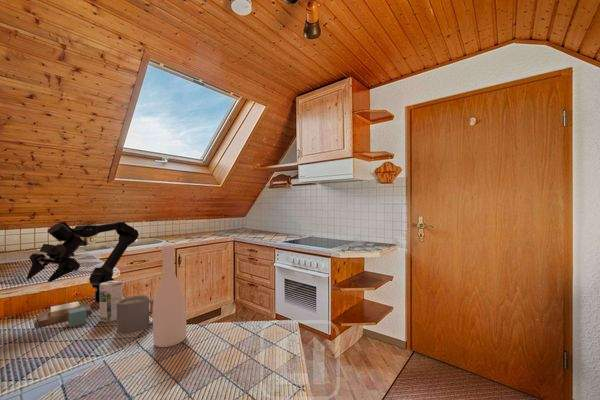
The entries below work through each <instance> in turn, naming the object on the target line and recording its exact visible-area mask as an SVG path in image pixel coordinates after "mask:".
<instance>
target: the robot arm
mask: <svg viewBox="0 0 600 400" xmlns="http://www.w3.org/2000/svg"><path fill="white" fill-rule="evenodd" d="M111 231H115V232H116V234H117V235H118V242H117V244H116V245H115V247H114V248H113V250H112V251H111V252H110V254H109V256H108V257H107V258H106V260H105V262H104V263H103V264H102V266H100V267H94V269H93V271H92V272H91V273H90V274H89V275H90V276H89V278H88V279H89V283H90V285H91V286H92V288H94V289H95V291H94V301H95V302H96V303H100V284H101V283H104V282H107V281H116V280H115V279H114V278H113V276H114V269H115V267H116V266H117V264H118V262H119V261H120V259H121V258H122V256H123V255H124V253H125V252H126V250H127V249H128V247H129V246H130V245H131V244H133V243H135V242H136V241H137V239H138V238H139V236H140V235H139V231H138V230H137V229H135V228H134V227H133V226H130V225H129V224H127V223H126V222H124V221H121V220H120V221H114V222H110V223H102V224H97V225H96V224H79V225H75V226H74V228H71V226H70V225H68V223H67V222H66V221H65V220H63V221H59V223H56V224H54V225H52V226H50V227H49V228H48V230H47V233H48V234H49V235H50V236H52V237H53V238H54V239H55V240H57V241H58V242H62V243H58V244H55V245H54V244H50V243H49V244H48V243H43V244H42V246H41V248H40V249H39V252H41V253H38V252H35V253H31V255H30V256H28V259H29V261H30V262H31V268H30V269H29V272H28V273H27V275H26V279H27V280H30V279H32V278H33V277H34V276H36V275H37V274H38V273H39V274H40V272H41V271H43V270H44V269H46V267H45V266H48V265H49V264H52V265H58V266H57V268H56V269H55V270H54V272H53V273H52V274H51V275H50V277H49V278H48V280H47V282H48V283H52V282H54V281H55V280H57V279H59V278H62V277H64V276H65V275H67V274H70V273H73V272H77V271H78V270H79V269H80V268H81V264H80V263H79V261H78V260H76V259H75V258H74V257H75V255H76V254H75V252H76V251H77V250H78V248H80V247H87V245H88V244H87V240H86V239H82V238H92V237H94V236H97V235H98V234H100V233H106V232H111ZM44 253H45V254H44Z"/></svg>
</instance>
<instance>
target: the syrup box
mask: <svg viewBox="0 0 600 400" xmlns="http://www.w3.org/2000/svg"><path fill="white" fill-rule="evenodd" d="M123 286H124V285H123V281H121V280H119V281H118V280H115V281H107V282H104V283H101V284H100V302H99V322H103V323H104V322H105V323H112V322H114V321H117V301H119V300H121V299H124V298H123V297H124V296H123V294H124V293H123V291H124V290H123Z"/></svg>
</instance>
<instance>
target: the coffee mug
mask: <svg viewBox="0 0 600 400" xmlns="http://www.w3.org/2000/svg"><path fill="white" fill-rule="evenodd" d="M154 299H155V298H150V297H149V295H145V294H139V295H132V296H128V297H124V298H123V299H121V300H119V301H117V320H116V333H118V334H122V335H125V334H133V333H137V332H140V331H143V330H145V329H147V328H148V327H149V326H150V316H151V315H153V308H152V307H153V302H154ZM150 304H151V307H150Z"/></svg>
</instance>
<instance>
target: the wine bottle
mask: <svg viewBox="0 0 600 400" xmlns="http://www.w3.org/2000/svg"><path fill="white" fill-rule="evenodd" d="M174 253H175V247H174V245H172V244H171V245H170V244H169V245H163V246H162V248H161V254H162V272H161V277H160V280H159V284H158V286H157V290H156V293H155V295H154V298H153V299H154V302H153V307H152V308H153V313H152V338H153V340H152V341H153V345H154V346H156V347H158V348H169V347H173V346H176V345H179V344H181V343H182V342H184V340H185V339H186V337H187V333H188V331H187V300H186V297H185V295H184V293H183V289H182V286H181V284H180V283H179V279H178V277H177V275H176V271H175V258H174V257H175V256H174Z"/></svg>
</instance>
